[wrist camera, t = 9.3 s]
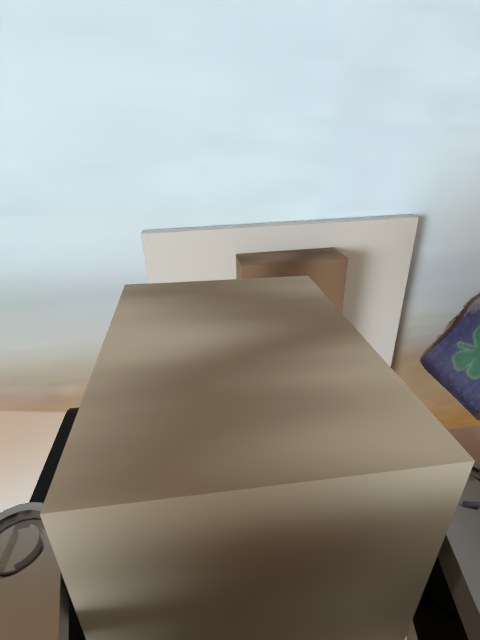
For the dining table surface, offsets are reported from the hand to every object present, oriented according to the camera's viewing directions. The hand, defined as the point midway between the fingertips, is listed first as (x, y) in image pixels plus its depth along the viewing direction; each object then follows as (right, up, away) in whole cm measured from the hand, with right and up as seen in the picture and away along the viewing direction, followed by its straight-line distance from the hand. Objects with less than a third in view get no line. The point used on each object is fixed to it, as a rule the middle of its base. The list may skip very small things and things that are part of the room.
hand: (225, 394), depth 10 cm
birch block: (0, 0, +1) cm, 1 cm away
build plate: (+4, +3, +23) cm, 24 cm away
